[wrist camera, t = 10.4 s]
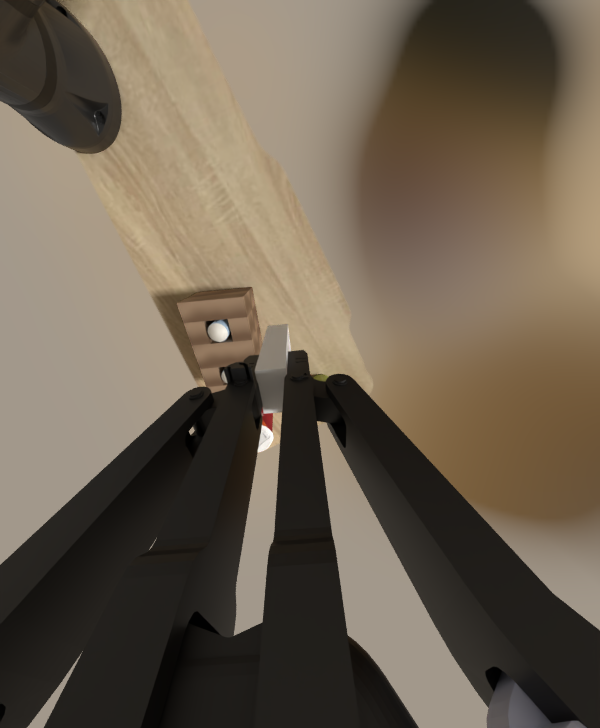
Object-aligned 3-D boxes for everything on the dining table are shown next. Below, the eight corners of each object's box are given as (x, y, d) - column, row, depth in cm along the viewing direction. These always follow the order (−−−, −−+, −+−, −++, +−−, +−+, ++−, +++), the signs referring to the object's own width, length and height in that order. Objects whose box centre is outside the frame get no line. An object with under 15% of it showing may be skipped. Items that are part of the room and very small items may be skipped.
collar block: (197, 292, 48) (176, 303, 39) (252, 287, 47) (243, 296, 39) (223, 376, 58) (211, 400, 49) (267, 372, 58) (263, 395, 49)
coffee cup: (263, 383, 60) (255, 422, 47) (282, 402, 63) (280, 443, 50) (241, 398, 62) (228, 440, 49) (261, 415, 65) (253, 458, 52)
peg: (220, 309, 49) (204, 324, 40) (237, 308, 49) (225, 322, 40) (224, 325, 51) (210, 342, 42) (240, 324, 51) (230, 341, 42)
